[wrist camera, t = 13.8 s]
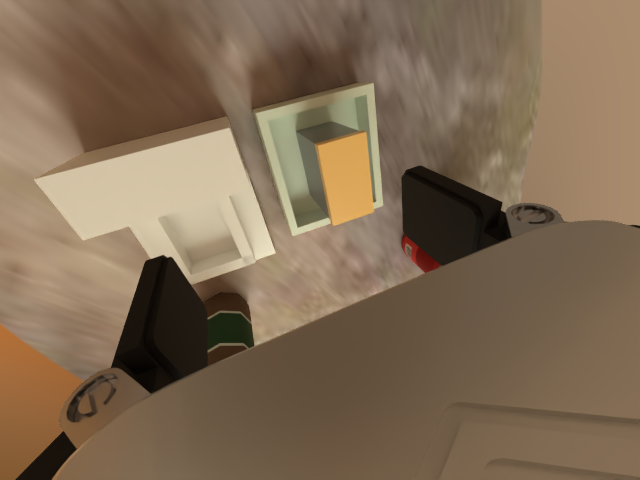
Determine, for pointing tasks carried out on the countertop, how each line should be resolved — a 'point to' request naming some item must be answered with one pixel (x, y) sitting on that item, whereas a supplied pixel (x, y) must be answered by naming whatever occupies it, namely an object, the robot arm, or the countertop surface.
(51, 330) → the countertop surface
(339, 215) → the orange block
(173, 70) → the countertop surface
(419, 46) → the countertop surface
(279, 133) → the tray
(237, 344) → the beer bottle
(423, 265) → the canned food
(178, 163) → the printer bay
